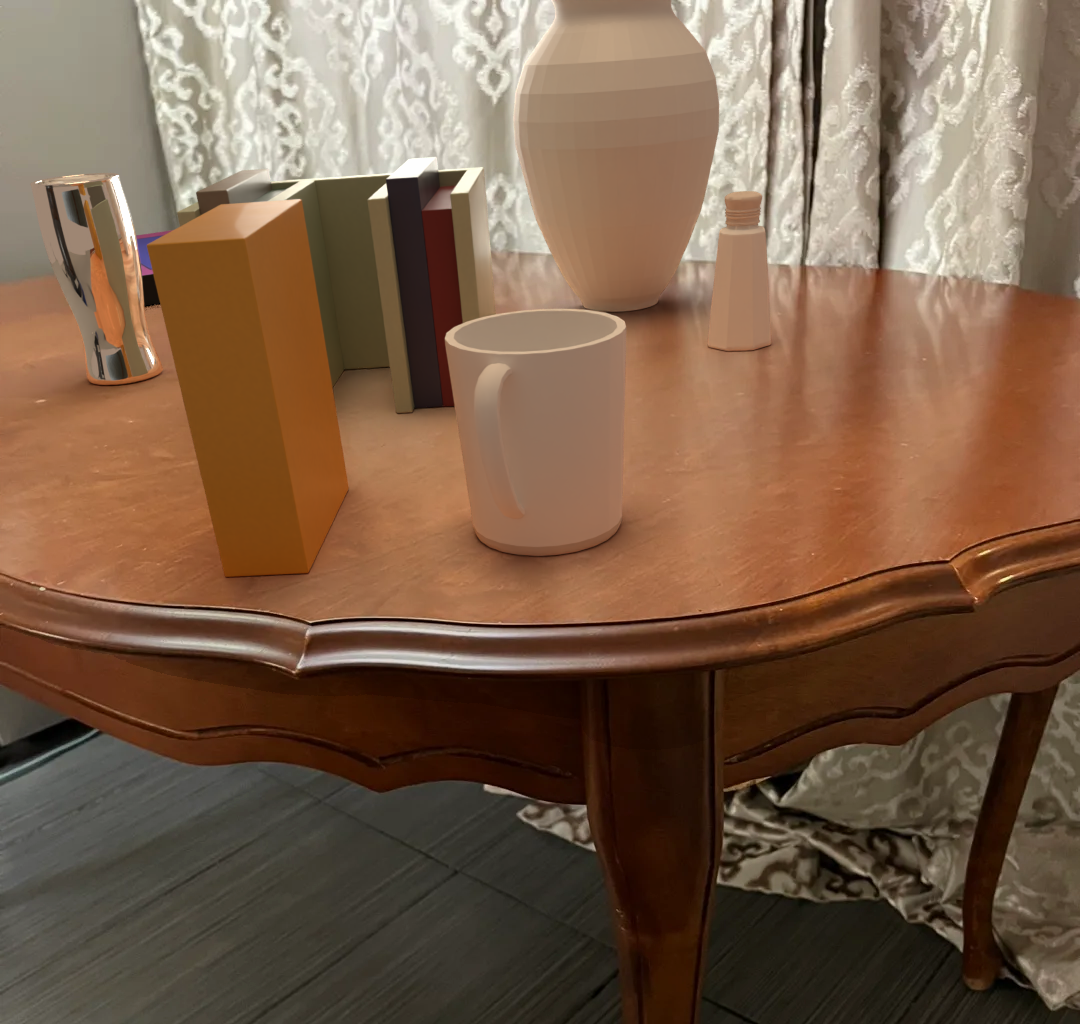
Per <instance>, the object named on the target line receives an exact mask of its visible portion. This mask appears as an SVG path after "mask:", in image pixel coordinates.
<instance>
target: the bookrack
mask: <svg viewBox="0 0 1080 1024" xmlns="http://www.w3.org/2000/svg"><path fill="white" fill-rule="evenodd" d="M195 195H196V200H197V202H194V203H193V204H190V205H189V206H187V207H185V208H183V209H181V210H179V211H176V215H177V219H178V225H179V227H180V226H182V225H184V224H186V223H188V222H190V221H191V220H193V219H195V218H197V217H199V216H201V215H202V214H204V213H206V212H208V211H210V210H212V209H213V208H215V207H217V206H219V205H221V204H235V203H249V202H264V201H279V200H294V199H301V200H302V204H303V210H304V216H305V223H306V229H307V235H308V241H309V247H310V253H311V259H312V265H313V272H314V278H315V284H316V290H317V296H318V302H319V308H320V314H321V321H322V327H323V333H324V339H325V345H326V351H327V357H328V363H329V370H330V376H331V382H332V388H333V389H334V386H335V385H336V383H337V382H338V380H339V378H340V377H341V375H342V374H343V372H344V371H345V370H359V369H377V368H378V369H379V368H389V371H390V378H391V386H392V392H393V400H394V408H395V413H396V414H406V413H407V414H408V413H413V411H414V409H424V408H440V407H444V408H445V407H455V405H454V398H453V392H452V385H451V379H450V372H449V366H448V359H447V353H446V346H445V336H446V333H447V332H448V331H450V330H451V329H452V328H454V327H456V326H458V325H460V324H463V323H465V322H467V321H471V320H474V319H478V318H481V317H486V316H491V315H496V314H497V311H496V299H495V297H496V295H495V285H494V275H493V274H494V273H493V262H492V260H493V259H492V249H491V238H490V237H491V236H490V226H489V225H490V223H489V211H488V199H487V187H486V177H485V167H484V166H477V167H464V168H463V167H462V168H450V169H449V168H448V169H439V164H438V157H437V156H430V157H429V156H428V157H414V158H409V159H407V160H406V161H405V162H404V163H403V164H402V165H400V166H399V167H398V168H397V169H396V170H394V171H393V172H389V173H376V174H375V173H374V174H360V175H347V176H346V175H345V176H332V177H315V178H301V179H286V180H274V181H272V179H271V174H270V169H269V168H254V169H242V170H240V171H238V172H235V173H234V174H231V175H229V176H227V177H225V178H223V179H221V180H219V181H216V182H214V183H212V184H210V185H208V186H206V187H204V188H202V189H199V190H198V191H196V192H195Z"/></svg>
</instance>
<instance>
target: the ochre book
mask: <svg viewBox="0 0 1080 1024" xmlns="http://www.w3.org/2000/svg"><path fill="white" fill-rule="evenodd" d="M172 230H173V231H171V230H170V231H171V232H169V233H167V234H166V235H164V236H162V237H160V238H158V239H156V240H155V241H153V242H151V243H149V244H147V249H148V254H149V258H150V262H151V266H152V270H153V275H154V279H155V283H156V287H157V292H158V296H159V300H160V304H159V305H160V308H161V313H162V316H163V321H164V326H165V329H166V333H167V338H168V341H169V346H170V350H171V355H172V359H173V363H174V367H175V372H176V376H177V381H178V384H179V389H180V392H181V397H182V400H183V401H182V402H183V405H184V410H185V415H186V418H187V422H188V427H189V431H190V435H191V439H192V443H193V444H192V445H193V448H194V452H195V456H196V461H197V466H198V469H199V473H200V477H201V481H202V486H203V491H204V495H205V498H206V503H207V508H208V512H209V516H210V520H211V524H212V528H213V532H214V537H215V541H216V545H217V549H218V554H219V558H220V562H221V566H222V571H223V575H224V577H225V578H232V577H233V578H234V577H251V576H252V577H253V576H254V577H255V576H272V575H274V576H275V575H295V574H296V575H297V574H309V572H310V571H311V569H312V566H313V565H314V562H315V560H316V558H317V556H318V554H319V552H320V550H321V547H322V546H323V543H324V541H325V539H326V538H327V535H328V533H329V531H330V529H331V527H332V525H333V522H334V521H335V518H336V516H337V514H338V512H339V510H340V508H341V505H342V504H343V502H344V499H345V497H346V495H347V493H348V491H349V489H350V487H349V481H348V473H347V469H346V463H345V462H346V461H345V457H344V449H343V443H342V437H341V431H340V426H339V419H338V415H337V414H338V413H337V408H336V401H335V395H334V387H333V388H332V382H331V376H330V370H329V363H328V357H327V351H326V345H325V339H324V333H323V327H322V321H321V314H320V308H319V302H318V296H317V290H316V284H315V278H314V272H313V265H312V259H311V253H310V247H309V241H308V235H307V229H306V223H305V216H304V210H303V204H302V200H301V199H294V200H279V201H264V202H249V203H235V204H221V205H219V206H217V207H215V208H213V209H212V210H210V211H208V212H206V213H204V214H202V215H201V216H199V217H197V218H195V219H193V220H191V221H190V222H188V223H186V224H184V225H182V226H180V225H179V226H178V227H177V228H175V229H172Z"/></svg>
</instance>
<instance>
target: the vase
mask: <svg viewBox="0 0 1080 1024" xmlns="http://www.w3.org/2000/svg"><path fill="white" fill-rule="evenodd" d="M550 2H551V3H552V6H553V8H554V19H553V21H552V23H551V25H550V26H549V27H548V29H547V30H546V32H544V34H543V35H542V37H541V38H540V40H539V41H538V42H537V44H536V45H535V47H534V48H533V50H532V51H531V53H530V54H529V56H528V57H527V59H526V60H525V61H524V63H523V65H522V69H521V73H520V76H519V79H518V82H517V84H516V85H517V86H516V89H515V94H514V103H513V104H514V105H513V106H514V107H513V115H512V116H513V118H512V122H513V135H514V137H513V138H514V146H515V149H516V154H517V157H518V161H519V166H520V168H521V173H522V177H523V179H524V180H523V181H524V183H525V187H526V190H527V195H528V198H529V202H530V206H531V208H532V212H533V214H534V218H535V221H536V223H537V225H538V228H539V231H540V233H541V234H542V237H543V238H544V241H545V243H546V245H547V247H548V250H549V252H550V254H551V256H552V258H553V260H554V262H555V264H556V266H557V267H558V269H559V272H560V274H561V275H562V277H563V279H564V280H565V282H566V283H567V285H568V286H569V288H570V289H571V291H572V292H573V293H574V295H576V296H577V297H578V299H579V300H580V302H581V305H582V307H583V308H584V309H586V310H591V311H598V312H604V313H611V312H612V313H613V312H614V313H615V312H616V313H617V312H619V313H621V312H630V311H638V310H643V309H647V308H650V307H653V306H655V305H657V304H658V303H659V300H660V296H661V295H662V294H663V292H664V291H665V290H666V289H667V287H668V285H669V284H670V282H671V281H672V279H673V277H674V275H675V274H676V272H677V270H678V268H679V265H680V264H681V262H682V259H683V256H684V254H685V252H686V249H687V247H688V245H689V243H690V241H691V238H692V235H693V233H694V230H695V227H696V224H697V223H698V220H699V217H700V214H701V211H702V208H703V205H704V204H703V203H704V201H705V197H706V193H707V188H708V183H709V180H710V179H709V178H710V175H711V169H712V165H713V162H714V161H713V160H714V157H715V156H714V155H715V150H716V145H717V141H718V135H719V131H720V99H719V91H718V86H717V77H716V75H715V72H714V70H713V66H712V65H711V64H712V63H711V62H710V59H709V56H708V53H707V51H706V50H705V48H704V47H703V46H702V45H701V43H700V42H699V41H698V40H697V39H696V37H695V36H694V34H693V33H691V31H690V29H688V28H687V26H686V25H685V24H684V22H682V21H681V19H679V18H678V16H677V15H676V14H675V12H674V10H673V7H672V0H550Z"/></svg>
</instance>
